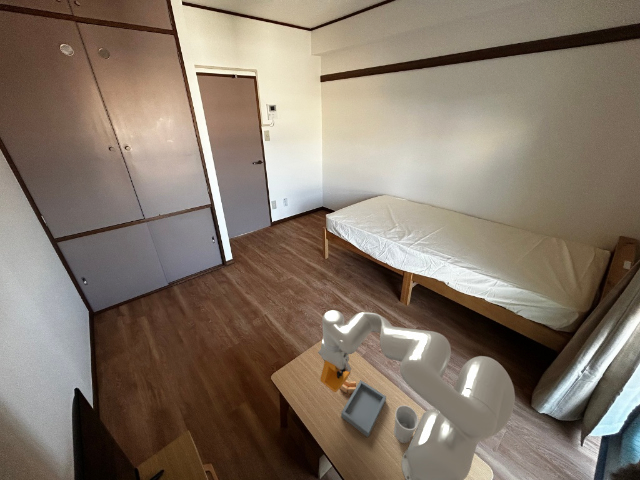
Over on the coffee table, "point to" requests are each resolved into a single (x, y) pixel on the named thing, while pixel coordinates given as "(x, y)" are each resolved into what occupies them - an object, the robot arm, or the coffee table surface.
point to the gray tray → (363, 407)
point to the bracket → (332, 376)
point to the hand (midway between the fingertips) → (334, 371)
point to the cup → (405, 423)
